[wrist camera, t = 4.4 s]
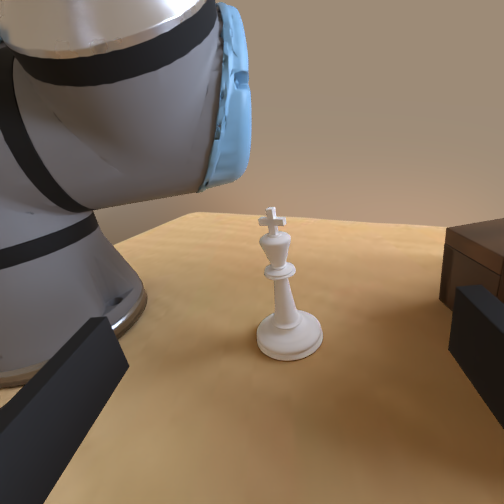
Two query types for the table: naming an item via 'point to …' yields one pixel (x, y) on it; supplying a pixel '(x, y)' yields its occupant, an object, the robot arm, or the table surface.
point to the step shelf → (473, 259)
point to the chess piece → (284, 301)
